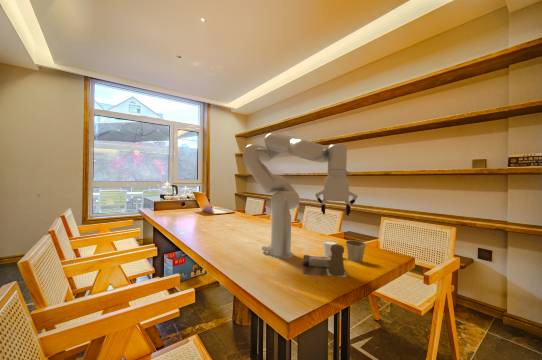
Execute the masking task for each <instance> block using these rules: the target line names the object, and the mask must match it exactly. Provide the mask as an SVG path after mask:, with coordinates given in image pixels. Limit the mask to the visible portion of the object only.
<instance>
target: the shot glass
mask: <svg viewBox="0 0 542 360" xmlns="http://www.w3.org/2000/svg"><path fill="white" fill-rule="evenodd" d="M333 244H338V242H336V241H332V240H331V241H330V240H325V241H323V244H322V246H323V255H324V256H325V257H331V255H332V252H331V250H330V249H331V246H332V245H333Z"/></svg>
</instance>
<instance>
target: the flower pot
mask: <svg viewBox="0 0 542 360" xmlns="http://www.w3.org/2000/svg"><path fill="white" fill-rule="evenodd" d="M344 242H345V243H344V244H345V246H346V250H347V252H346V253H347V260H348V261H352V262H358V263H363V258H364V254H365V253H364V252H365V249H366V247H367V243H365V242H363V241H360V240H352V239H350V240H345V241H344Z"/></svg>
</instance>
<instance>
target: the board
mask: <svg viewBox="0 0 542 360" xmlns="http://www.w3.org/2000/svg"><path fill="white" fill-rule="evenodd" d="M309 256H310V257H317V258H330V259H331V257H330V256H317V255H316V256H315V255H309ZM302 275H309V276H322V277H323V276H325V277H336V278H349V276H348V274H347V272H346V269H345V268H344V275H343V276H335V275H332V274H330V273H329V268H328V267H316V266H304V265H303V264H302Z"/></svg>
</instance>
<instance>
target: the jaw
mask: <svg viewBox="0 0 542 360" xmlns="http://www.w3.org/2000/svg"><path fill="white" fill-rule="evenodd" d="M310 256H311V255H309V254H304V255H303V261H302V266H303V265H304V266H316V267H328V268H329V267H330V261H331V259H330V258H317V257H310Z"/></svg>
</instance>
